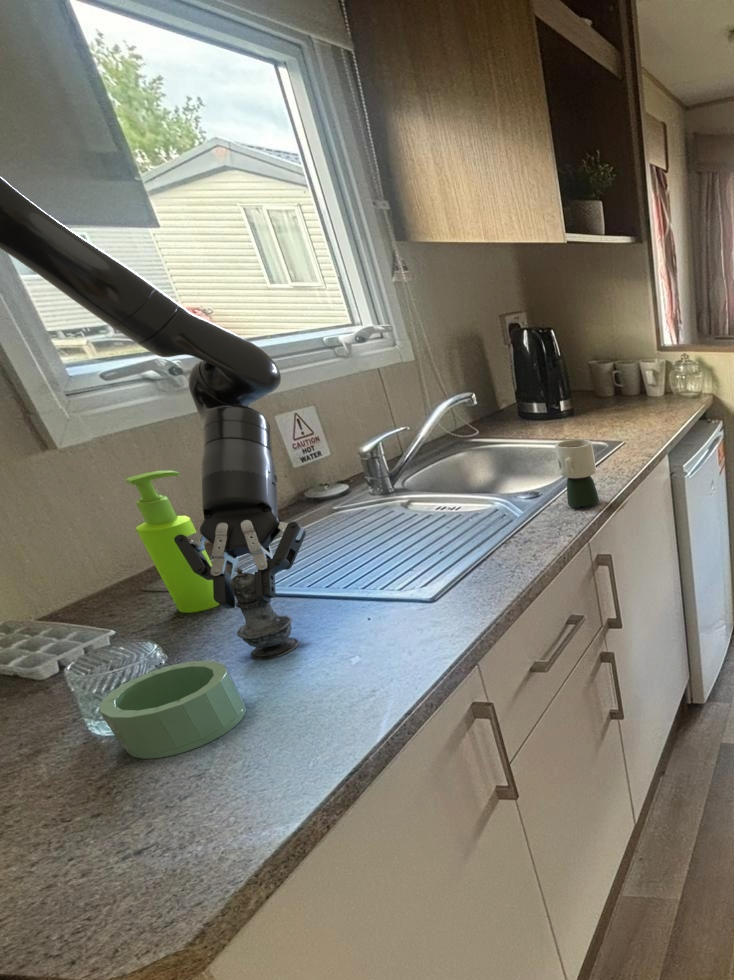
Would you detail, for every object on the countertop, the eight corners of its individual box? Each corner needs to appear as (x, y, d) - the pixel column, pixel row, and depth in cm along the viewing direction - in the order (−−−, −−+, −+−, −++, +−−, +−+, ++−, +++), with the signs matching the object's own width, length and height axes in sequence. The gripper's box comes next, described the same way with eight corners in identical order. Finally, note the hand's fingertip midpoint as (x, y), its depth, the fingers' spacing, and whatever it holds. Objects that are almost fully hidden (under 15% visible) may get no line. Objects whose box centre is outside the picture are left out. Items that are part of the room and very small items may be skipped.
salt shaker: (236, 658, 86) (195, 575, 80) (277, 635, 91) (242, 556, 85) (272, 663, 85) (233, 580, 79) (312, 640, 90) (278, 560, 84)
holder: (105, 769, 67) (77, 727, 65) (152, 711, 76) (129, 671, 73) (227, 744, 71) (204, 703, 68) (259, 691, 79) (240, 653, 77)
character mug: (575, 496, 142) (564, 436, 136) (608, 496, 142) (598, 436, 136) (558, 514, 132) (546, 450, 126) (593, 514, 132) (583, 450, 126)
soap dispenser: (242, 597, 101) (184, 471, 92) (188, 616, 96) (120, 484, 87) (225, 588, 104) (166, 465, 95) (171, 607, 99) (103, 478, 89)
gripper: (155, 474, 81) (156, 604, 77) (289, 462, 85) (297, 584, 81) (192, 502, 88) (195, 622, 84) (314, 489, 92) (323, 603, 88)
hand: (245, 603), depth 82 cm, fingers closed on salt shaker, 3 cm apart
